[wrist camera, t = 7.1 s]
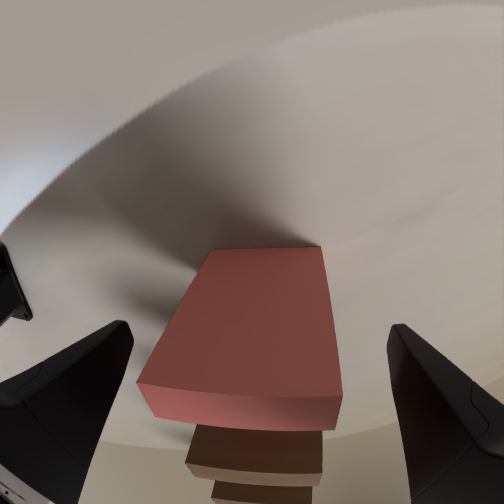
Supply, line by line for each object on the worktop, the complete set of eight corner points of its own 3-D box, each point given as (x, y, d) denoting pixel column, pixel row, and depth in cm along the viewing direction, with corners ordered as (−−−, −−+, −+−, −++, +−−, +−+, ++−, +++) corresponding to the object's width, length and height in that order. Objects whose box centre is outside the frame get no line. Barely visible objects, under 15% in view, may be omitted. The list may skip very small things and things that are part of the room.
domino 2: (316, 354, 16) (317, 486, 8) (229, 353, 16) (194, 476, 9) (318, 333, 15) (322, 473, 8) (225, 332, 16) (184, 462, 9)
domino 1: (320, 277, 14) (334, 429, 6) (216, 279, 14) (155, 416, 7) (320, 246, 13) (343, 395, 6) (211, 249, 14) (136, 382, 7)
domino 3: (312, 404, 18) (309, 511, 11) (239, 402, 19) (216, 504, 11) (313, 390, 17) (311, 504, 10) (236, 388, 18) (210, 497, 11)
